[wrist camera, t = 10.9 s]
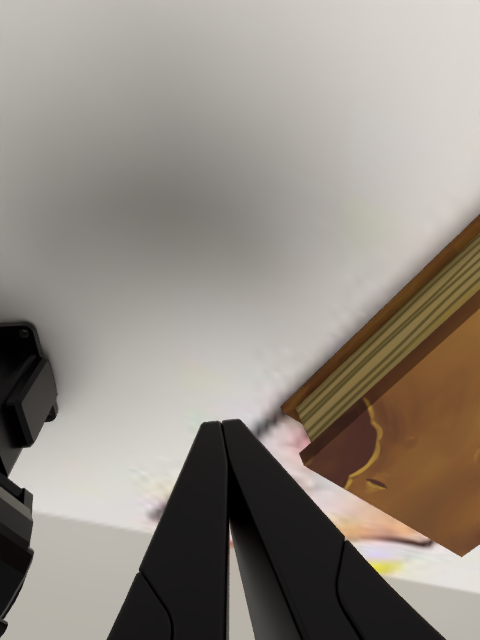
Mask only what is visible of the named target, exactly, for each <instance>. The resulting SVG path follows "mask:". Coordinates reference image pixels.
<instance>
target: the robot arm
mask: <svg viewBox="0 0 480 640" xmlns="http://www.w3.org/2000/svg"><path fill="white" fill-rule="evenodd" d="M21 330H26V331H27V332H28V333H29V334H28V335H26V334H23V333H22V331H21ZM56 397H57V390H56V387H55V383H54V379H53V375H52V372H51V368H50V364H49V361H48V359H46V358H45V357H43V353H42V350H41V346H40V342H39V339H38V335H37V331H36V329H35V327H34V326H33V325H32V324H30V323H28V322H17V323H0V637H1V636H2V635H3V634H4V632H5V630H6V629H7V626H8V623H7V622H6V621H5V620H3V619H4V618H5V616H6V615H7V613H8V612H9V610H10V609H11V607H12V605H13V604H14V602H15V600H16V598H17V596H18V594H19V592H20V590H21V588H22V586H23V583H24V580H25V578H26V575H27V572H28V570H29V568H30V565H31V563H32V560H33V554H34V551H33V549H32V548H30V539H31V533H32V526H33V519H32V502H33V494H31V493H30V492H29V491H28V490H26V489H25V488H22V489H21V488H20V487H18V486H17V485H16V484H15V483H13V482H12V481H11V480H10V479H8V476H9V474H10V472H11V470H12V468H13V466H14V465H15V463H16V461H17V459H18V457H19V455H20V453H21V451H22V449H23V448H27V447H31V446H32V445H33V444H34V442H35V441H36V439H37V437H38V434H39V432H40V430H41V428H42V426H43V424H44V422H50V421H53V420H54V419H55V418H56V416H57V413H58V409H57V405H56V401H55V399H56ZM49 413H51V414H49ZM229 523H230V530H231V535H232V540H233V544H234V549H235V553H236V557H237V561H238V566H239V570H240V575H241V579H242V583H243V588H244V592H245V597H246V601H247V605H248V610H249V614H250V618H251V623H252V627H253V632H254V636H255V640H446V639H445V638H444V637H443V636H442V635H441V634H440V633H439V632H438V631H437V630H435V629H434V628H433V627H432V626H431V625H430V624H429V623H428V622H427V621H426V620H425V619H424V618H423V617H421V615H420V614H418V613H417V612H416V611H415V610H414V609H413V608H412V607H411V606H410V605H409V604H408V603H407V602H406V601H405V600H404V599H403V598H402V597H401V596H400V595H399V594H398V593H397V592H396V591H395V590H394V589H393V588H392V587H391V586H390V585H389V584H388V583H387V582H386V581H385V580H384V579H383V578H382V577H381V576H380V575H379V573H378V572H377V571H376V570H375V569H374V568H373V567H372V566H371V565H370V564H369V563H368V562H367V561H366V560H365V559H364V557H363V556H362V555H361V554H360V553H359V552H358V551H357V549H356V548H355V547H354V546H353V545H352V544H351V543H350V542H349V541H348V540H346V541H345V536H344V535H343V534H342V533H341V532H340V531H339V529H338V528H337V527H336V526H335V525H334V524H333V523H332V522H331V520H330V519H329V518H328V517H327V516H326V515H325V514H324V513H323V512H322V510H321V509H320V508H319V507H318V506H317V505H316V504H315V503H314V501H313V500H312V499H311V498H310V497H309V496H308V495H307V494H306V492H305V491H304V490H303V489H302V488H301V487H300V486H299V485H298V483H297V482H296V481H295V480H294V479H293V478H292V477H291V476H290V475H289V473H288V472H287V471H286V470H285V469H284V468H283V467H282V466H281V464H280V463H279V462H278V461H277V460H276V459H275V458H274V457H273V455H272V454H271V453H270V452H269V451H268V450H267V449H266V448H265V446H264V445H263V444H262V443H261V442H260V441H259V440H258V439H257V438H256V436H255V435H254V434H253V433H252V432H251V431H250V430H249V429H248V427H247V426H246V425H245V424H244V423H243V422H242V421H241V420H240V419H230V420H223V421H222V423H220V421H211V422H203V423H202V424H201V426H200V428H199V430H198V432H197V435H196V437H195V439H194V442H193V444H192V446H191V449H190V451H189V453H188V456H187V458H186V460H185V463H184V465H183V467H182V470H181V472H180V474H179V477H178V479H177V481H176V484H175V486H174V488H173V491H172V493H171V495H170V498H169V500H168V502H167V504H166V507H165V509H164V511H163V514H162V516H161V518H160V521H159V523H158V525H157V528H156V530H155V532H154V535H153V537H152V539H151V542H150V544H149V546H148V549H147V551H146V553H145V556H144V558H143V560H142V563H141V565H140V567H139V573H137V574H136V576H135V578H134V581H133V583H132V585H131V587H130V590H129V592H128V595H127V597H126V599H125V601H124V603H123V606H122V608H121V610H120V612H119V614H118V616H117V618H116V621H115V623H114V625H113V627H112V629H111V631H110V634H109V636H108V638H107V640H229V554H230V534H229Z"/></svg>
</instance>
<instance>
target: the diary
mask: <svg viewBox="0 0 480 640" xmlns="http://www.w3.org/2000/svg"><path fill="white" fill-rule="evenodd" d="M281 409H282V411H283V412H284V413H286V414H287V415H289V416H290V417H292V418H294V419H295V420H297V421H298V422H300V423H301V424H303V426H304V428H305V430H306V432H307V435H308V437H309V439H310V441H311V443H310V444H309V445H308V446H307V447H306V448H305V449H304V450H302V451H301V452H300V453H299V454H300V457H301V459H302V462H303V464H304V466H306V467H307V468H309V469H311V470H313V471H314V472H316V473H318V474H319V475H321V476H323V477H325V478H326V479H328V480H330V481H331V482H333V483H335V484H337V485H338V486H340V487H342V488H344V489H345V490H347V491H349V492H350V493H352V494H354V495H356V496H357V497H359V498H361V499H362V500H364V501H366V502H368V503H369V504H371V505H373V506H375V507H376V508H378V509H380V510H381V511H383V512H385V513H387V514H388V515H390V516H392V517H393V518H395V519H397V520H399V521H400V522H402V523H404V524H405V525H407V526H409V527H411V528H412V529H414V530H416V531H418V532H419V533H421V534H423V535H424V536H426V537H428V538H430V539H431V540H433V541H435V542H436V543H438V544H440V545H442V546H443V547H445V548H447V549H449V550H450V551H452V552H454V553H455V554H457V555H459V556H461V557H463V556H464V555H465V554H467V553H468V552H470V551H471V550H472V549H474V548H475V547H477V546H478V545H480V214H479V215H478V216H477V217H476V218H475V219H474V220H473V221H472V222H471V223H470V224H469V225H468V226H467V227H466V228H465V229H464V230H463V231H462V232H461V233H460V234H459V235H458V236H457V237H456V238H455V239H454V240H453V241H452V242H451V243H449V244H448V245H447V246H446V247H445V248H444V249H443V250H442V251H441V252H440V253H439V254H438V255H437V256H436V257H435V258H434V259H433V260H432V261H431V262H430V263H429V264H428V265H427V266H426V267H425V268H424V269H423V270H422V271H421V272H420V273H419V274H417V275H416V276H415V277H414V278H413V279H412V280H411V281H410V282H409V283H408V284H407V285H406V286H405V287H404V288H403V289H402V290H401V291H400V292H399V293H398V294H397V295H396V296H395V297H394V298H393V299H392V300H391V301H390V302H389V303H388V304H386V305H385V306H384V307H383V308H382V309H381V310H380V311H379V312H378V313H377V314H376V315H375V316H374V317H373V318H372V319H371V320H370V321H369V322H368V323H367V324H366V325H365V326H364V327H363V328H362V329H361V330H360V331H359V332H358V333H357V334H356V335H354V336H353V337H352V338H351V339H350V340H349V341H348V342H347V343H346V344H345V345H344V346H343V347H342V348H341V349H340V350H339V351H338V352H337V353H336V354H335V355H334V356H333V357H332V358H331V359H330V360H329V361H328V362H327V363H326V364H325V365H323V366H322V367H321V368H320V369H319V370H318V371H317V372H316V373H315V374H314V375H313V376H312V377H311V378H310V379H309V380H308V381H307V382H306V383H305V384H304V385H303V386H302V387H301V388H300V389H299V390H298V391H297V392H296V393H295V394H294V395H293V396H291V397H290V398H289V399H288V400H287V401H286V402H285V403H284V404H283V405H282V406H281Z"/></svg>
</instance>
